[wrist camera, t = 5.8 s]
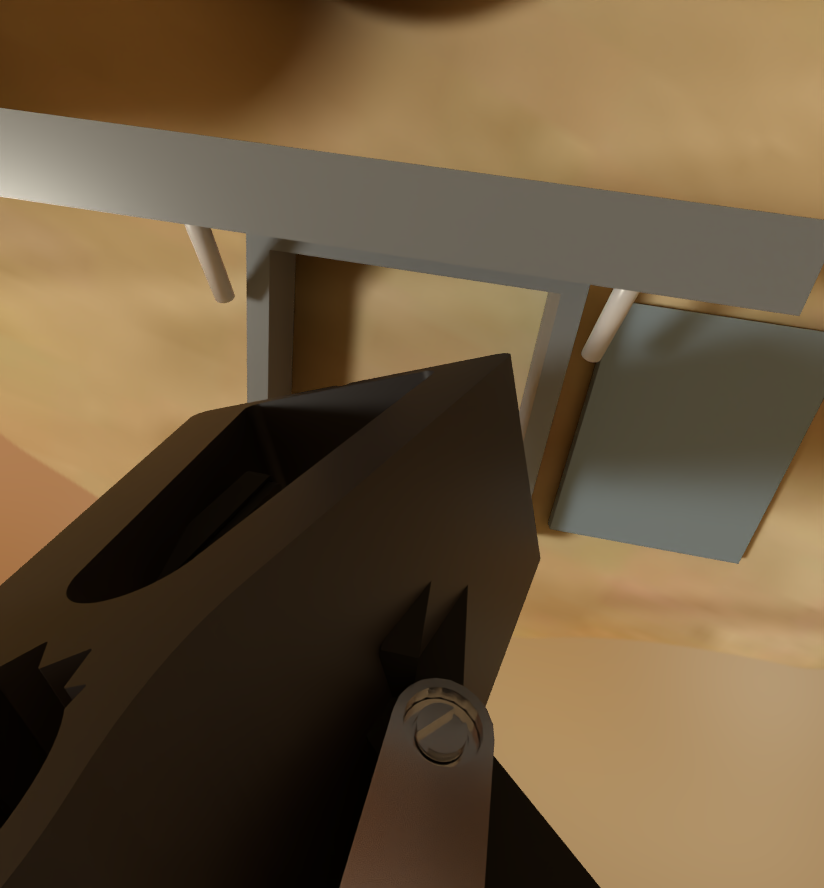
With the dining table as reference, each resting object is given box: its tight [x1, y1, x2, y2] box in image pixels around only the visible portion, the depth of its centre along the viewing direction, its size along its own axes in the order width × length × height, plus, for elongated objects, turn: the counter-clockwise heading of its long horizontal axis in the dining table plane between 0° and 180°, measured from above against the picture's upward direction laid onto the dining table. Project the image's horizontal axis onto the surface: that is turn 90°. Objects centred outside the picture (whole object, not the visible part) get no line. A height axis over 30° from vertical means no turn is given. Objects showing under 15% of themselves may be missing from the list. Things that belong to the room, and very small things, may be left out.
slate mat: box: [548, 303, 824, 564], centre depth 22 cm, size 10×12×1 cm
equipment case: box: [0, 108, 824, 497], centre depth 16 cm, size 16×15×15 cm
